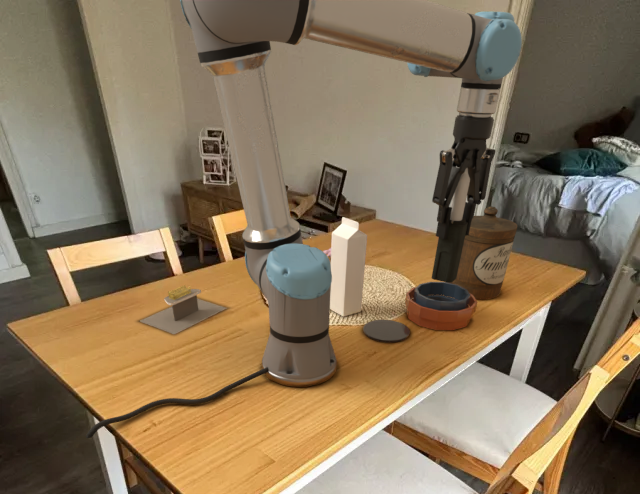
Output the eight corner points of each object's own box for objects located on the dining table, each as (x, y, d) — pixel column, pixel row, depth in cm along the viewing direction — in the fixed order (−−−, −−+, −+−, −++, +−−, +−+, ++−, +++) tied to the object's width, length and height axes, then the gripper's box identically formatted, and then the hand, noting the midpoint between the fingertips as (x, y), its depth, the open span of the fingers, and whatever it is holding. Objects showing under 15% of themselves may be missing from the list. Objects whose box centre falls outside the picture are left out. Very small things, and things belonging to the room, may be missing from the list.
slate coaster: (380, 346, 107) (381, 344, 107) (353, 327, 115) (354, 325, 114) (419, 336, 112) (419, 334, 112) (390, 318, 119) (391, 316, 119)
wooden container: (480, 304, 127) (501, 217, 114) (435, 287, 136) (450, 204, 123) (510, 291, 135) (533, 208, 122) (466, 276, 144) (483, 197, 131)
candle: (457, 277, 116) (482, 160, 100) (450, 283, 112) (474, 163, 97) (437, 272, 118) (458, 157, 103) (429, 278, 114) (450, 160, 99)
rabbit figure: (338, 255, 161) (315, 259, 149) (340, 236, 158) (317, 239, 146) (354, 258, 159) (332, 263, 147) (357, 239, 156) (335, 243, 144)
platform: (138, 321, 115) (133, 294, 111) (193, 297, 127) (189, 272, 123) (174, 334, 110) (169, 307, 106) (227, 308, 122) (224, 283, 118)
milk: (343, 317, 119) (348, 224, 106) (328, 308, 123) (331, 218, 110) (361, 311, 122) (369, 220, 109) (346, 303, 126) (351, 214, 113)
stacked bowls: (434, 336, 112) (439, 310, 108) (391, 310, 123) (394, 285, 119) (486, 322, 119) (492, 297, 115) (440, 298, 130) (445, 275, 126)
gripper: (452, 117, 88) (431, 245, 102) (523, 116, 96) (494, 235, 110) (426, 113, 93) (409, 236, 108) (495, 112, 101) (470, 226, 115)
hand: (452, 235), depth 109 cm, fingers closed on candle, 6 cm apart
